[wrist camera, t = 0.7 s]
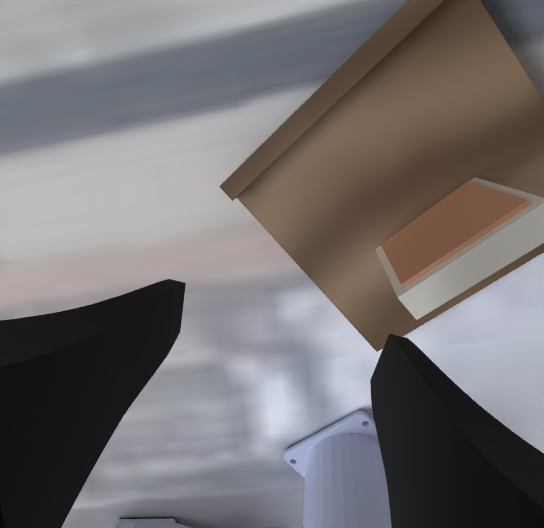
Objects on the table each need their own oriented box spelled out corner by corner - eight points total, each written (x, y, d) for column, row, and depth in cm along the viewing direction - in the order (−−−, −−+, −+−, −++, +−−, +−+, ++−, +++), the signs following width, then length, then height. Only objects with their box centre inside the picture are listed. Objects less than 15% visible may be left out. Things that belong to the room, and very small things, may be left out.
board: (595, 205, 18) (631, 214, 16) (374, 341, 22) (379, 361, 20) (444, -29, 15) (463, -54, 13) (229, 180, 20) (219, 186, 18)
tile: (488, 196, 17) (568, 227, 12) (389, 265, 19) (416, 320, 14) (472, 174, 17) (546, 194, 11) (373, 246, 19) (394, 294, 13)
